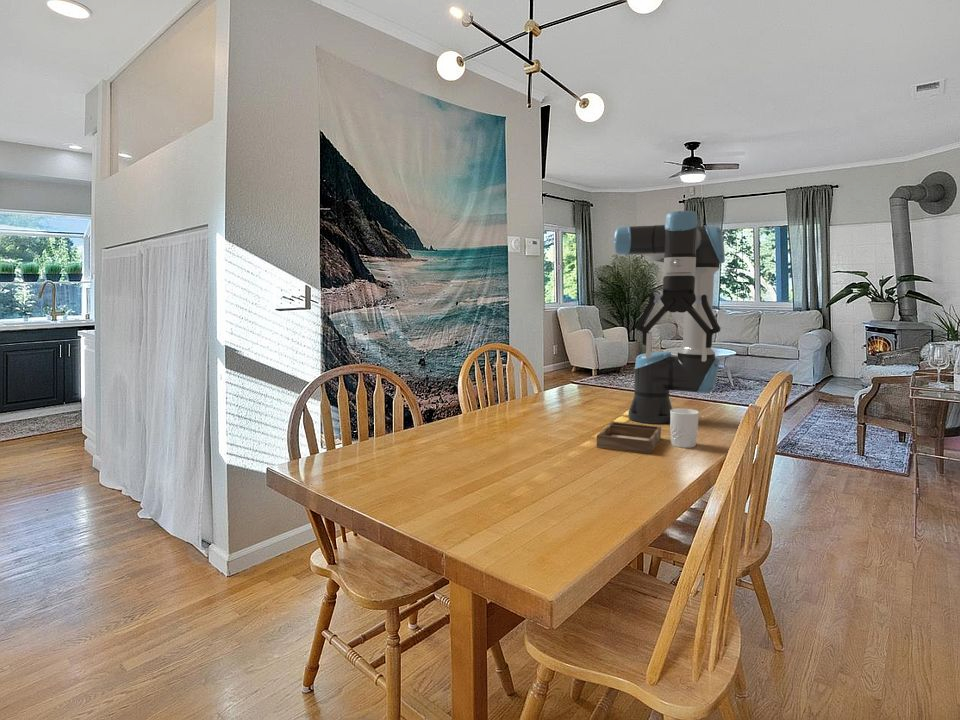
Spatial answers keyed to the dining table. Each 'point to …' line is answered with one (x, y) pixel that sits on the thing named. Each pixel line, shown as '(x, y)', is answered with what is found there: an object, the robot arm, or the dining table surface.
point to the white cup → (683, 427)
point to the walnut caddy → (629, 437)
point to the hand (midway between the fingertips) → (675, 359)
